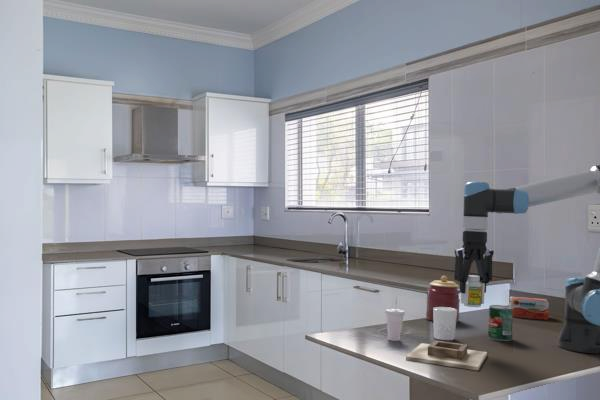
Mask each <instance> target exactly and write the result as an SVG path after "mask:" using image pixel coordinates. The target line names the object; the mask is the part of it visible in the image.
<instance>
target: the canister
mask: <svg viewBox="0 0 600 400" xmlns="http://www.w3.org/2000/svg"><path fill="white" fill-rule="evenodd" d="M429 285H430V286H429V287H428V288H427V289H426V291H427V292H428V293H427V296H426V311H425V315H426V316H425V317H426V319H427V320H429V321H431V322H433V308H434V307H448V308H454V309H457V317H456V323H458V322H459V321H460V320H459V319H460V304H461V298H460V294H461V293H460V289H459V288H458V287H459V285H458V284H457V283H456V281H451V280H448V277H447V276H446V275H442V276H441V277H440V280H439V279H437V280H436V279H435V280H433V281H431V282H429Z"/></svg>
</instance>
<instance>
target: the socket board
mask: <svg viewBox="0 0 600 400" xmlns="http://www.w3.org/2000/svg"><path fill="white" fill-rule="evenodd" d="M487 355H488V352H487V351H482V350H475V349H469V348H468V344H464V343H458V342H451V341H450V342H449V341H444V340H437V339H436V340H433V341H432V342H431V343H421V342H420V344H419V345H417V346H416V347H415V348H413V349H412V351H410V353H408V354H407V355H406V356H405V360H406V361H412V362H419V363H425V364H432V365H433V364H434V365H437V366H445V367H452V368H460V369H465V370H471V371H479V370H480V368H481V366H482V364H483V363H484V361H485V359H486V357H487Z"/></svg>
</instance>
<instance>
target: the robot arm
mask: <svg viewBox="0 0 600 400" xmlns="http://www.w3.org/2000/svg"><path fill="white" fill-rule="evenodd" d="M463 192H464V194H463V218H462V219H463V220H462V229H463V231H462V243H463V245H462V247H461V248H459V249H457V248H455V249H454V255H455V264H454V275H453V277H454V278H453V279H454V281H455V282H456V281H457V282H458V283H459V291H460V293H459V294H460V304H463V305H464V304H468V292H469V284H468V283H466V282H467V279H468V275H470V273H471V272H470V271H471V267H472V263H474V262H475V265H476V270H477V276H480V280H479V282H480V283H481V285H482V293H481V305H484V304H485V293H487V284H489V283H490V282H492V280H493V257H494V254H495V251H494V250H492V249H488V248H487V246H486V243H487V242H488V232H487V230H488V225H489V219H488V218H489V213H492V214H493V213H496V214H515V215H518V214H526V213H527V212H528V210H529V208H531V207H535V206H540V205H545V204H549V203H554V202H558V201H564V200H568V199H571V198H576V197H581V196H586V195H591V194H594V193H596V194H598V195H600V164H597V165H593V166H592V167H590V170H585V171H581V172H577V173H576V172H575V173H572V174H567V175H564V176H558V177H555V178H550V179H546V180H541V181H537V182H532V183H528V184H524V185H520V186H516V187H515V186H514V187H512V188H507V189H505V188H504V189H500V188H499V189H497V188H490V184H489V183H488V182H485V181H483V182H482V181H468V182H467V183H465V184H464V191H463ZM564 289H565V298H564V321H563V325H562V328H561V329H560V330H561V331H560V332H559V336H558V337H557V346H558V347H559V348H562V349H565V350H569V351H573V352H579V353H585V354H600V248H599V250H598V252H597V256H596V259H595V262H594V266H593V269H592V271H591V272H590V273H588V274H586V275H585V278H584V277H583V278H581V277H579V278H577V277H572V278H571V277H570V278H567V279H566V283H565V286H564Z"/></svg>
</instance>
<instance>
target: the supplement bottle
mask: <svg viewBox="0 0 600 400" xmlns="http://www.w3.org/2000/svg"><path fill="white" fill-rule="evenodd" d="M466 283H468V284H469V292H468V304H463V306H465V307H468V308H480V307H481V306H482V304H481V293H482V285H481V283H480V276H479V275H473V274H472V275H471V274H469V275H468V279H467V282H466Z"/></svg>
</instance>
